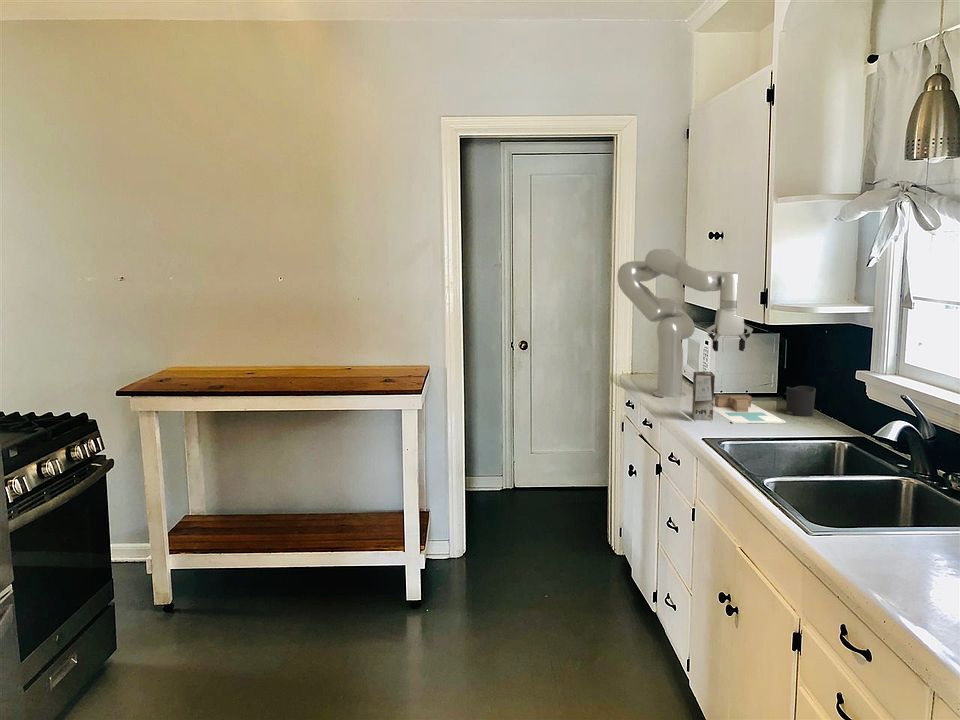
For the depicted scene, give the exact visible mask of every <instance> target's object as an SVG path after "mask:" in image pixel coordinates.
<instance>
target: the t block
mask: <svg viewBox="0 0 960 720" xmlns="http://www.w3.org/2000/svg"><path fill="white" fill-rule="evenodd" d="M714 402H715V406H717V407H729V408H731V409H733V410H734V411H736V412H748V407H751V403H752V396H751V395H749V394H714Z"/></svg>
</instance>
